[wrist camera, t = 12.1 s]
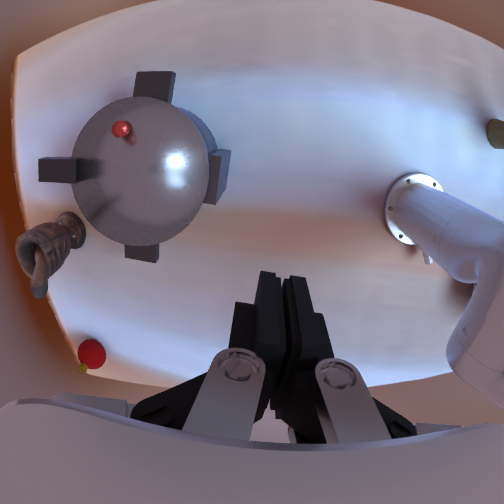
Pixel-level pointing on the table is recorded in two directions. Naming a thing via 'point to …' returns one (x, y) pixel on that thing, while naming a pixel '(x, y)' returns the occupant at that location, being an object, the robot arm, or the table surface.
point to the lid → (136, 171)
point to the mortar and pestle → (48, 249)
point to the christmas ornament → (91, 355)
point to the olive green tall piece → (496, 133)
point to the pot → (162, 89)
